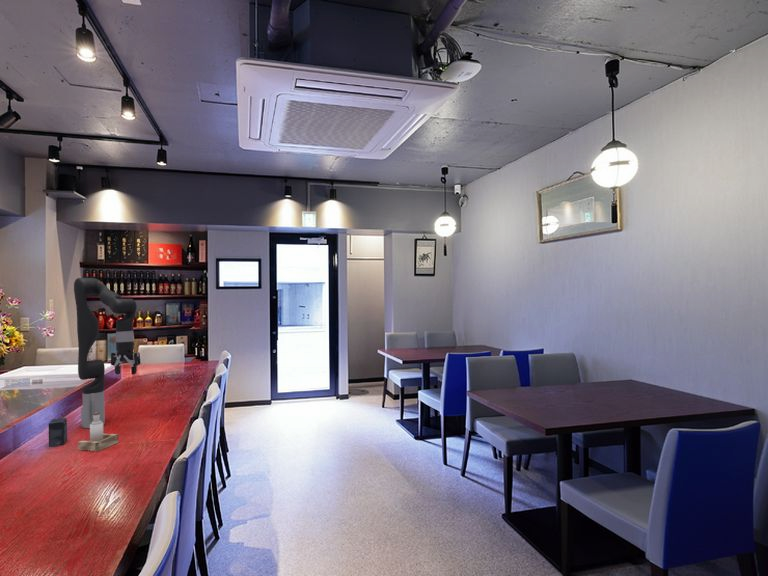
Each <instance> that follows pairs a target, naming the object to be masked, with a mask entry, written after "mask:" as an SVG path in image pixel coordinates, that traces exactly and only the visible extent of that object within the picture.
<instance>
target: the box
mask: <svg viewBox="0 0 768 576" xmlns="http://www.w3.org/2000/svg"><path fill="white" fill-rule="evenodd" d="M67 441H68V417H59V418H52V419H51V420H50V422H48V447H49V448H51V447H57V446H59V447H60V446H64V444H65V443H66V442H67Z"/></svg>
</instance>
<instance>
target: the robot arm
mask: <svg viewBox="0 0 768 576" xmlns="http://www.w3.org/2000/svg"><path fill="white" fill-rule="evenodd" d="M73 294H74V300H75V307H76V332H77V343H78V344H77V347H78V352H77V353H78V356H77V358H78V359H77V361H78V362H77V373H78V378H79V379H80V380H81V381H85V380H86V381H87V380H92V379H94V380H93V381H92V382H91V383H89V384H87V385H85V386H83V387H82V392H81V393H82V395H81V396H82V407H81V409H80V415H81V417H80V422H81V428H84V429H90V424H92V422H93V414H92V413H93V412H98V411H99V412H100V420H101V422H103V426H104V425H105V424H106V420H105V419H106V416H105V415H106V414H105V413H106V412H105V409H106V408H105V407H106V406H105V370H106V369H105V367H106V365H105V362H104V360H103V359H93V360H88V357H89V353H90V351H91V349H92V347H93V345H94V344H95V342H96V340H97V339H98V337H99V335H100V325H99V323H100V321H99V319H98V318H97V316H96V315H95V313H94V311H92V310H91V308H90V306H89V304H88V302H87V297H93V296H98V297H99V300H100V302H101V303H103V304H104V305H105V306H107V307H108V308H109V309H110V310H111V312H112V313H114V314H116V315H117V314H118V315H122V314H124V317H122V318H118V319H117V320H116V321H115V350H116V352H111V353H110V366H113V367H114V373H115V375H119V374H120V375H121V364H122V363H123V362H125V363H128V364H129V365H130V366H131V368H130V372H131V373H130V374H131V375H132V376H134V375H136V374H137V366H141V355H140V354H141V353H140V352H134V350H135V334H134V320H135V315H136V312H137V310H138V309H137V308H138V307H137V306H138V305H137V302H136V300H134V299H133V298H123V297H122V296H121V295H120V294H118V293H116V292H114V291H112V290H111V289H109V287H107V286H106V285H105V284H104V283H103V282H102V281H101V280H99V279H98V278H96V277H77V278H76V279H75V280H74V282H73Z"/></svg>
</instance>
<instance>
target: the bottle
mask: <svg viewBox="0 0 768 576" xmlns="http://www.w3.org/2000/svg"><path fill="white" fill-rule="evenodd" d="M92 414H93V422H92V424H90V428H89V441H100V440H103V439H104V435H103V434H104V425H103V422H101V420H100V412H99V411H98V412H93V413H92Z"/></svg>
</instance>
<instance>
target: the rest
mask: <svg viewBox="0 0 768 576" xmlns="http://www.w3.org/2000/svg"><path fill="white" fill-rule="evenodd" d="M103 435H104V439H103V440H100V441H90V440H80V441H78V442H77V448H78V449H77V450H78V451H83V450H88V451H87V452H100V451H102V450H104V449H106V448H109V447H112V446H113V445H115V444H118V443H119V433H103ZM89 450H90V451H89Z"/></svg>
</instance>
